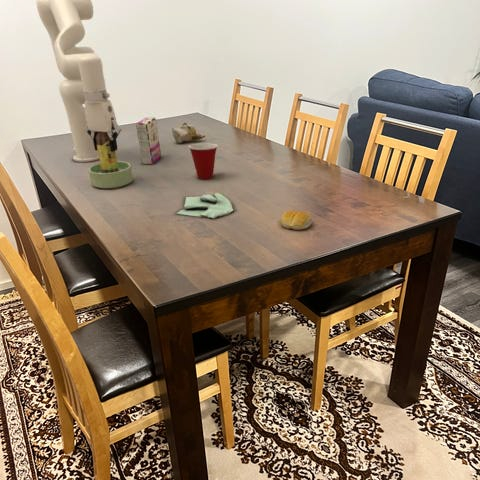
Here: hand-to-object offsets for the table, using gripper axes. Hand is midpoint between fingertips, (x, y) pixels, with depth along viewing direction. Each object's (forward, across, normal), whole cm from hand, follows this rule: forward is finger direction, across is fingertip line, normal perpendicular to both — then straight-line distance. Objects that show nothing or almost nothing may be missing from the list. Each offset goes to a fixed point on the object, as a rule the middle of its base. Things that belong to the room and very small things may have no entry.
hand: (106, 149), depth 175 cm
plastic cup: (+13, -31, -16) cm, 38 cm away
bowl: (+12, 0, 0) cm, 12 cm away
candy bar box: (+13, +1, -30) cm, 33 cm away
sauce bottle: (+9, 0, 0) cm, 9 cm away
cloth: (+13, -45, +11) cm, 48 cm away
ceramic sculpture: (+13, 0, -63) cm, 64 cm away
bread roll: (+13, -78, +18) cm, 81 cm away
